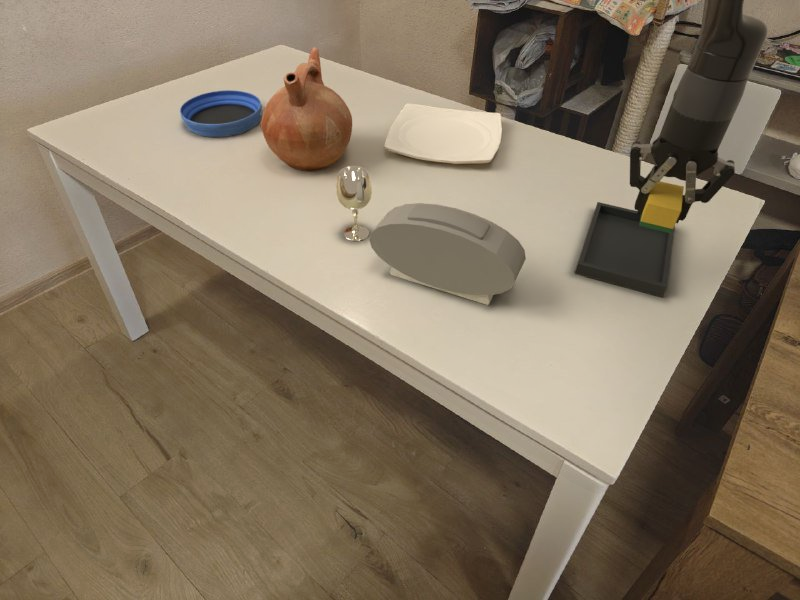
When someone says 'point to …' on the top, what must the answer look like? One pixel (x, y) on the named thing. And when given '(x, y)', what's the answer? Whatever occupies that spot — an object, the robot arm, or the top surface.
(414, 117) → the plate
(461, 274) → the alarm clock
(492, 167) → the top surface
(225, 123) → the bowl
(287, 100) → the jug
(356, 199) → the wineglass
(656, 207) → the sponge
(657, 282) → the tray
